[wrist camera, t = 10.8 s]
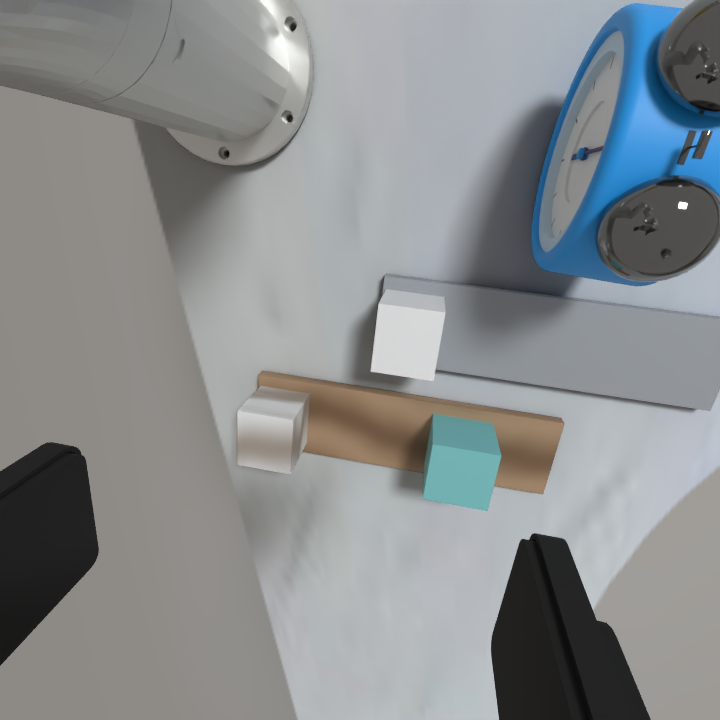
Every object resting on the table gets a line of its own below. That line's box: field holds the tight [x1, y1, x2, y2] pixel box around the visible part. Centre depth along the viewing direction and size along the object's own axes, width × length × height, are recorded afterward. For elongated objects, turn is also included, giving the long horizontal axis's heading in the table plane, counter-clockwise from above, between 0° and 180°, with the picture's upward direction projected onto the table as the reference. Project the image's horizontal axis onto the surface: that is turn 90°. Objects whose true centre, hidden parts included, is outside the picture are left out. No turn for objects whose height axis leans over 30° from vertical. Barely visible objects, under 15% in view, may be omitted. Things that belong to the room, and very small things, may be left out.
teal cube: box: [423, 414, 501, 511], centre depth 36 cm, size 5×5×5 cm
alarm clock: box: [531, 0, 720, 286], centre depth 24 cm, size 13×6×15 cm, turn 171°
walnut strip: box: [237, 371, 564, 494], centre depth 37 cm, size 7×26×6 cm, turn 84°
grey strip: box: [371, 274, 720, 411], centre depth 32 cm, size 7×26×6 cm, turn 84°
